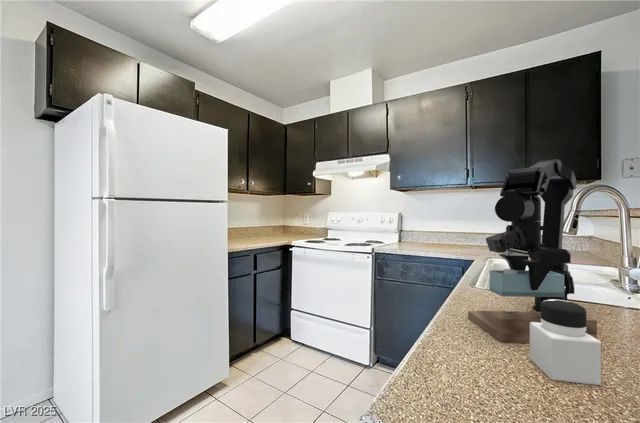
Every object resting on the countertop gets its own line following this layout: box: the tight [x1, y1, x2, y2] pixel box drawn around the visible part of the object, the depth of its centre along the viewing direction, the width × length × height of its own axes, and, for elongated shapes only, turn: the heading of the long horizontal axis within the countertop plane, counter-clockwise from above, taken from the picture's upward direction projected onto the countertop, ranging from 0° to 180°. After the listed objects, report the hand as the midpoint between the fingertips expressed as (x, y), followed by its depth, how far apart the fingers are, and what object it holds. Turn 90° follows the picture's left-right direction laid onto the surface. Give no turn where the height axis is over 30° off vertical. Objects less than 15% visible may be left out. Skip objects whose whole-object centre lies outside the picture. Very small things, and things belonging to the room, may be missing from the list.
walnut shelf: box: [467, 310, 598, 344], centre depth 68 cm, size 20×14×5 cm
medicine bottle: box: [529, 299, 602, 386], centre depth 50 cm, size 7×7×12 cm
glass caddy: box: [488, 268, 565, 298], centre depth 68 cm, size 14×5×6 cm, turn 89°
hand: (525, 287), depth 68 cm, fingers closed on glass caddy, 5 cm apart
